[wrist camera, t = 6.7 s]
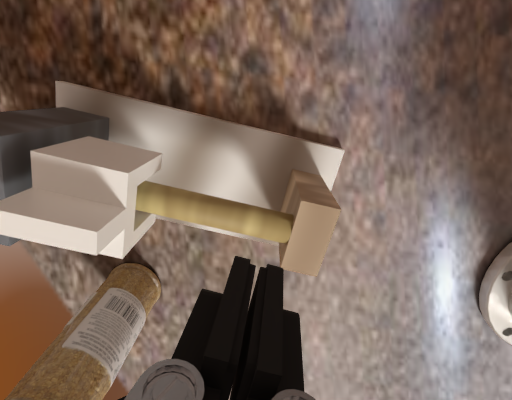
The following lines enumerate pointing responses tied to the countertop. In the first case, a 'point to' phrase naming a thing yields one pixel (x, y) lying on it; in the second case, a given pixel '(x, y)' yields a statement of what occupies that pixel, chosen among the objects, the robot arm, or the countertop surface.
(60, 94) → the linear actuator
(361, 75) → the countertop surface
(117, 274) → the sprinkles bottle
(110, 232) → the sleeve
